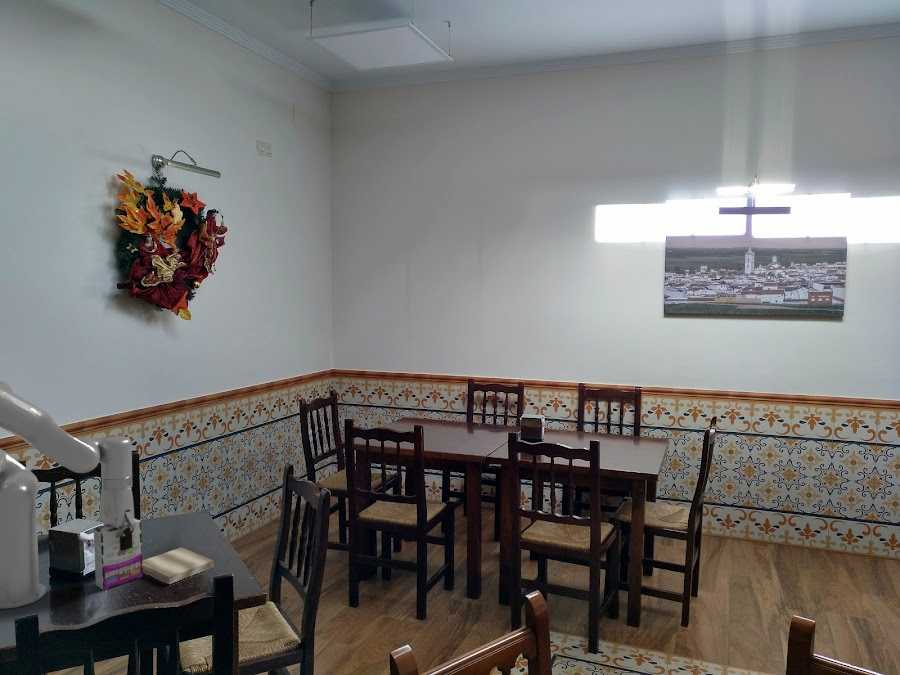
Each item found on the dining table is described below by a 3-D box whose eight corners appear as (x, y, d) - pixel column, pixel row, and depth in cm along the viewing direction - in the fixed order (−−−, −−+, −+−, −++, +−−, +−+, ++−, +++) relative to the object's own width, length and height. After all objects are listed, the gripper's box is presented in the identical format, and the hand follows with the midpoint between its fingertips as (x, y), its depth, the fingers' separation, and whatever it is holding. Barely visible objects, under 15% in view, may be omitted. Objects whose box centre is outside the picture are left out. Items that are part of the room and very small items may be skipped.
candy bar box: (134, 572, 193) (133, 516, 192) (143, 577, 190) (142, 520, 189) (94, 586, 185) (92, 527, 183) (103, 591, 182) (101, 531, 180)
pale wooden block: (169, 587, 186) (169, 577, 185) (137, 572, 195) (137, 562, 195) (213, 570, 197) (213, 560, 197) (181, 556, 206) (181, 547, 206)
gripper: (87, 479, 187) (88, 542, 189) (120, 491, 177) (121, 557, 179) (113, 473, 193) (115, 534, 195) (147, 485, 183) (148, 549, 185)
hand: (118, 545), depth 187 cm, fingers open, 7 cm apart
